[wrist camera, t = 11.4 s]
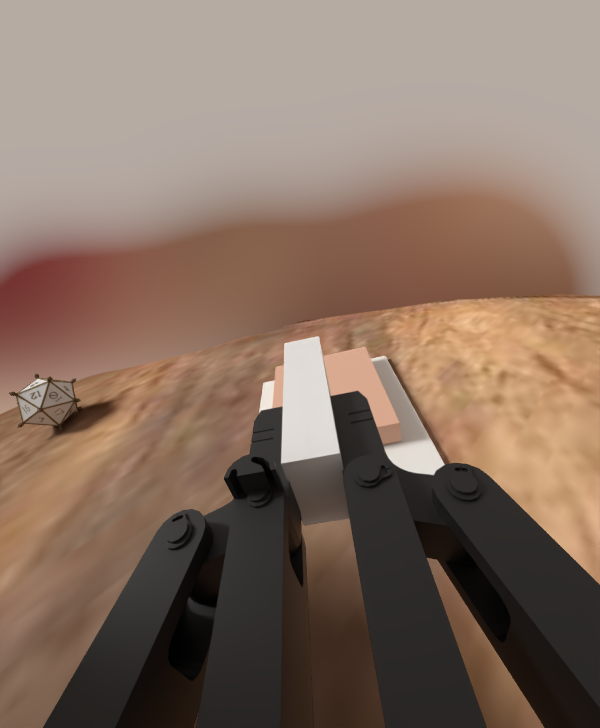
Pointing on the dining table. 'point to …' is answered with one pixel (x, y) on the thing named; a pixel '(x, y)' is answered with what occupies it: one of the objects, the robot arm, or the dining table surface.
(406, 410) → the rubber mat
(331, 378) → the terracotta tile
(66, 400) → the game die
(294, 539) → the robot arm
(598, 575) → the dining table surface
